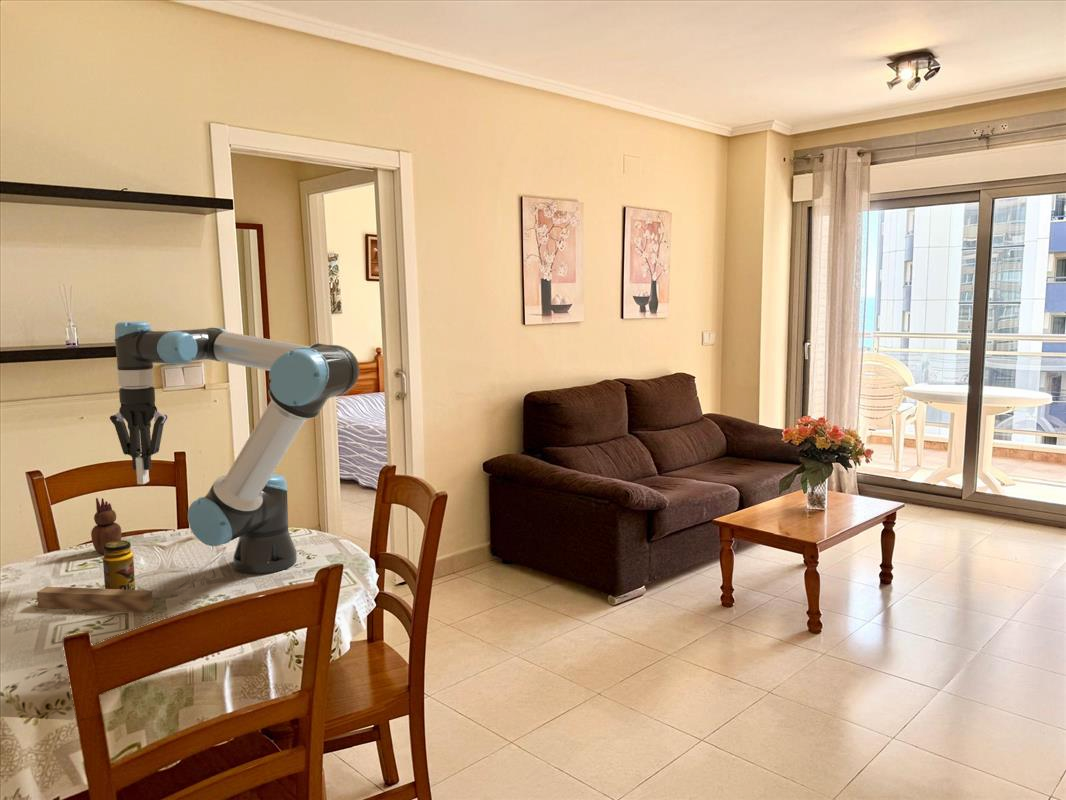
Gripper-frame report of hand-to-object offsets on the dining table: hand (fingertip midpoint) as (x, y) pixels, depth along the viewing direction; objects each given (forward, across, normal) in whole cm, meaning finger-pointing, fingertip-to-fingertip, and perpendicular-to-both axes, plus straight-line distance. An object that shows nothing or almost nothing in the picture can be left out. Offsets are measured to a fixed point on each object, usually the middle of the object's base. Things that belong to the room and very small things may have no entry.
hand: (143, 482), depth 182 cm
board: (+22, 0, +22) cm, 31 cm away
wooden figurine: (+22, +17, -11) cm, 30 cm away
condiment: (+22, 0, +15) cm, 27 cm away
